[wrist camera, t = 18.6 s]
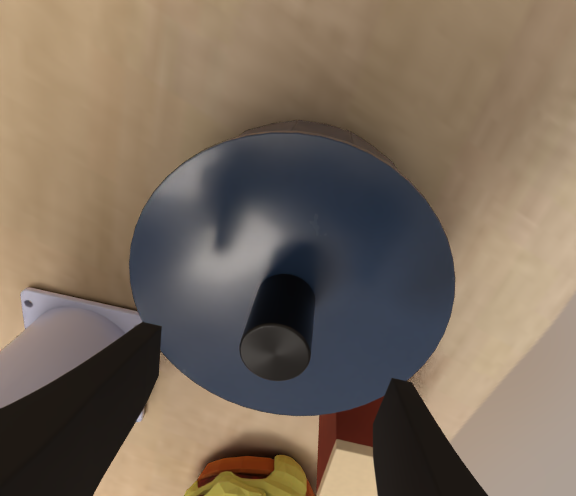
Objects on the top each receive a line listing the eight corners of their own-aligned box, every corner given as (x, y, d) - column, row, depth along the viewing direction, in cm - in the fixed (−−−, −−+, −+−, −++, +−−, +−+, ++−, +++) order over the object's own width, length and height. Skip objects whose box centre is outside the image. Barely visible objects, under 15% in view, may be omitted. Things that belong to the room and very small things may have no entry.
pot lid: (391, 423, 20) (406, 515, 16) (136, 365, 20) (87, 442, 16) (503, 170, 14) (570, 214, 10) (144, 92, 14) (70, 105, 10)
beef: (377, 425, 27) (388, 521, 21) (319, 413, 27) (315, 505, 21) (398, 375, 25) (416, 467, 19) (335, 361, 25) (336, 448, 19)
